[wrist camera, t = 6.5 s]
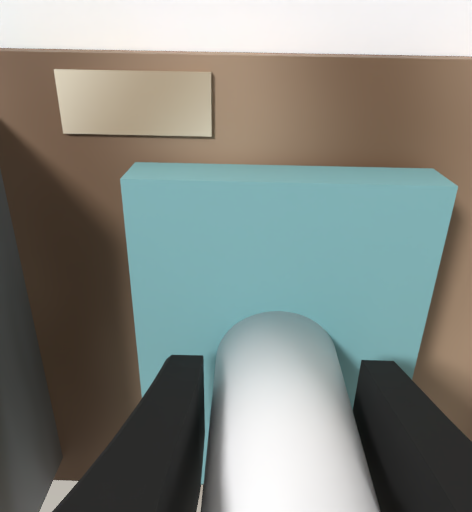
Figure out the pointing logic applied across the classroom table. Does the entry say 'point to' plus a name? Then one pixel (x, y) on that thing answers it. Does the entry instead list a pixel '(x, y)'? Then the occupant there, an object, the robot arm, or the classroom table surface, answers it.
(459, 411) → the bench base
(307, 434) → the teal plate with post
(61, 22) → the classroom table surface
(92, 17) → the classroom table surface
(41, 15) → the classroom table surface
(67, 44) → the classroom table surface
